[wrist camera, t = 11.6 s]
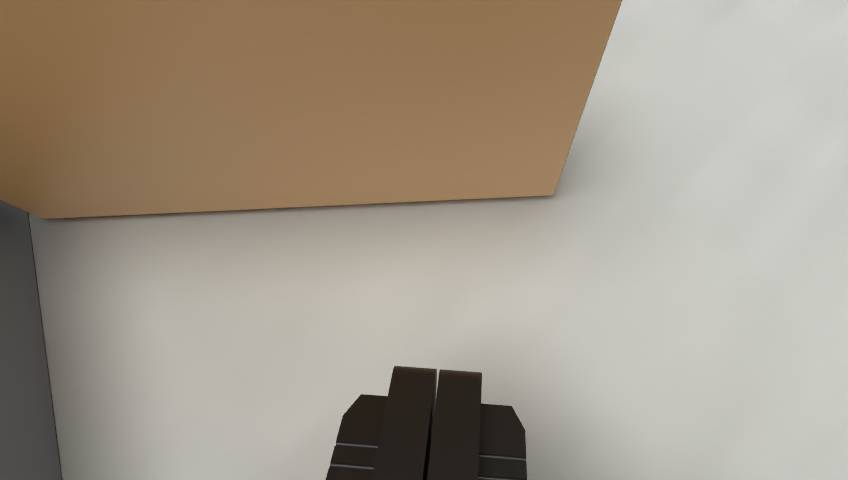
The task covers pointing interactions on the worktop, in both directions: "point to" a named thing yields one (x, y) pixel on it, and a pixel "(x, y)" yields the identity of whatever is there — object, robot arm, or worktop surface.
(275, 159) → the side door
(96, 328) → the worktop surface
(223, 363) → the worktop surface
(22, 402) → the grey matte box
